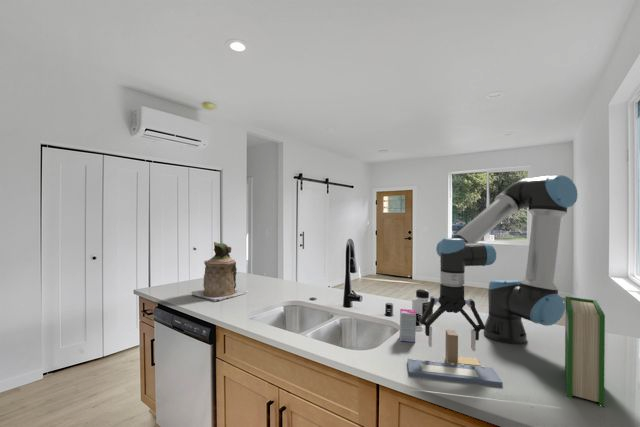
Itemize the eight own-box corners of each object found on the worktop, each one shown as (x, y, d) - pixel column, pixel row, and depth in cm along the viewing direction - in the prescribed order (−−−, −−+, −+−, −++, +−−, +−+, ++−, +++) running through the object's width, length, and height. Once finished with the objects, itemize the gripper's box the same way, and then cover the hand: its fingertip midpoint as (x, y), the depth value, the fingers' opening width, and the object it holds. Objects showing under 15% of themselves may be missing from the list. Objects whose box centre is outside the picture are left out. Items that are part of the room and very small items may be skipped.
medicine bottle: (422, 317, 152) (422, 292, 152) (411, 313, 159) (411, 289, 159) (433, 315, 156) (433, 290, 155) (422, 311, 162) (422, 287, 162)
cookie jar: (216, 302, 175) (217, 245, 175) (189, 296, 189) (189, 242, 188) (249, 293, 196) (249, 241, 196) (222, 287, 209) (223, 239, 209)
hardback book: (604, 407, 82) (604, 315, 82) (567, 397, 86) (568, 309, 86) (595, 378, 96) (596, 300, 96) (564, 371, 101) (565, 296, 101)
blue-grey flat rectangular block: (492, 372, 100) (492, 366, 100) (502, 387, 91) (502, 381, 91) (407, 363, 105) (407, 358, 105) (409, 376, 97) (409, 371, 97)
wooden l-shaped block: (476, 360, 107) (477, 331, 107) (481, 367, 102) (481, 337, 102) (445, 357, 109) (445, 329, 109) (448, 364, 104) (448, 334, 104)
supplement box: (415, 343, 121) (416, 314, 121) (400, 342, 123) (400, 312, 123) (414, 337, 127) (414, 309, 127) (399, 336, 128) (399, 308, 128)
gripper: (414, 284, 105) (413, 348, 105) (496, 289, 100) (495, 356, 100) (412, 279, 113) (412, 339, 113) (489, 284, 107) (488, 346, 107)
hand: (451, 347), depth 106 cm, fingers open, 13 cm apart
